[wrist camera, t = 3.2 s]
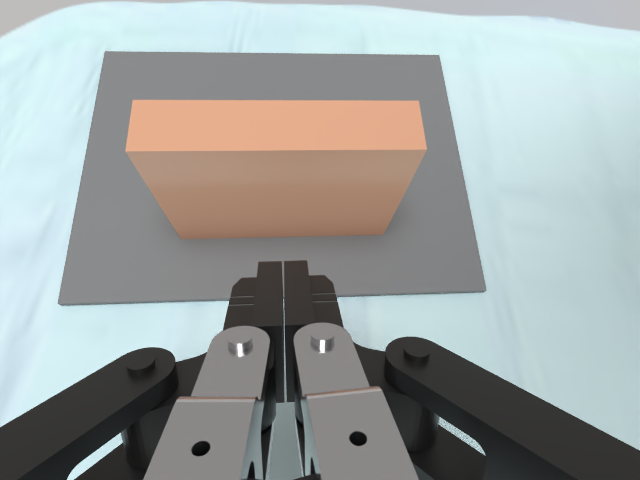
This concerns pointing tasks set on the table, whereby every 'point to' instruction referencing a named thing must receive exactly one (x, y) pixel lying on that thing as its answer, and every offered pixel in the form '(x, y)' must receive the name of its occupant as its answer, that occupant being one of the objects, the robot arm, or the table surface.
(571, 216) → the table surface
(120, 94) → the mat
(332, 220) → the tile
